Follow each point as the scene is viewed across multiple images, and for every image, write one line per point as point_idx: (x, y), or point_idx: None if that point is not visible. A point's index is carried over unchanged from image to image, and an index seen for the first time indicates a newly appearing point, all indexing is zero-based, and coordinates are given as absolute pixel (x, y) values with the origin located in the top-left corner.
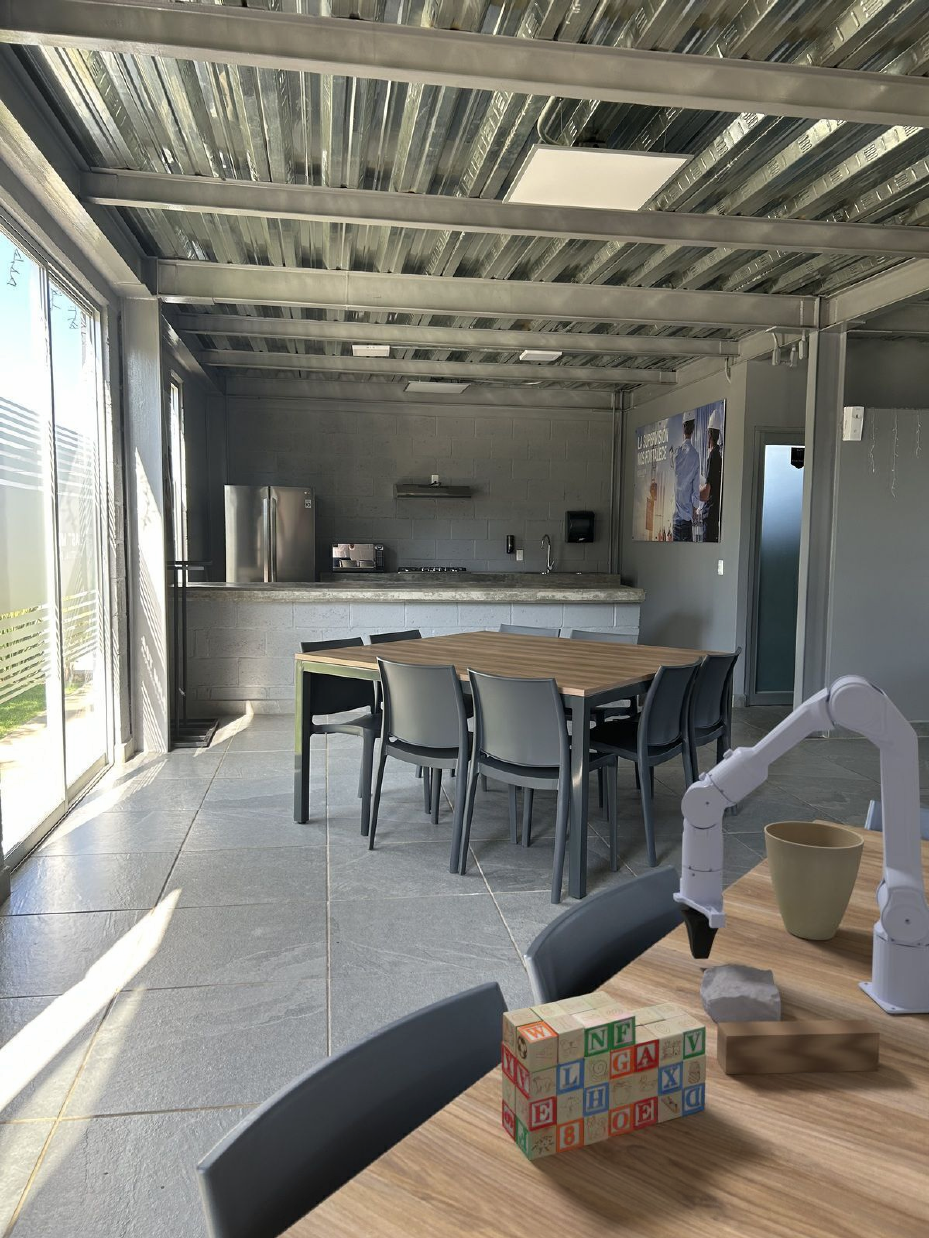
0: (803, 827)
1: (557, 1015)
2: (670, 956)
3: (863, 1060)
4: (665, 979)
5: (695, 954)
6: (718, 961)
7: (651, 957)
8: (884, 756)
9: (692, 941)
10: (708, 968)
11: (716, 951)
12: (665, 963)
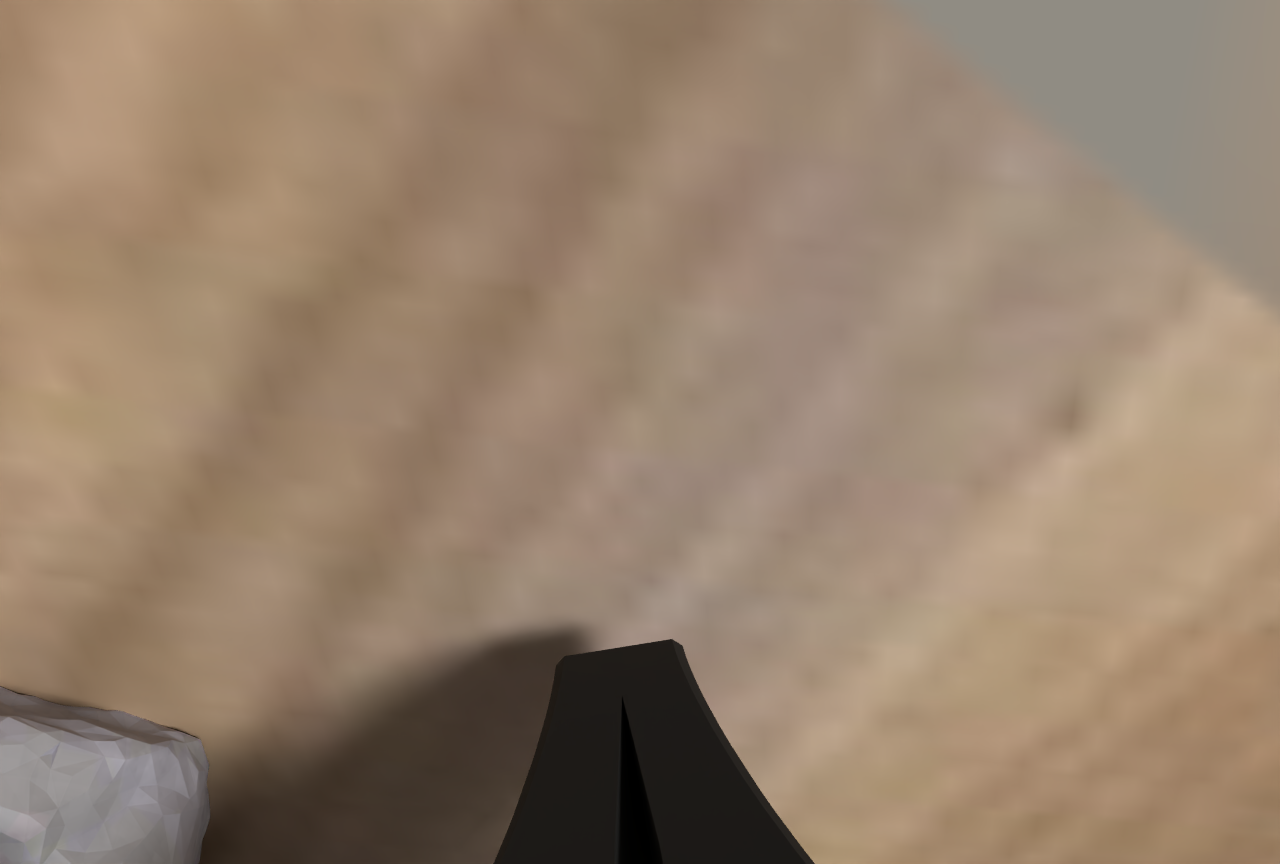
0: None
1: None
2: (893, 350)
3: None
4: (134, 194)
5: (548, 708)
6: None
7: (869, 77)
8: None
9: (508, 842)
10: (20, 828)
11: (989, 793)
12: (673, 259)
